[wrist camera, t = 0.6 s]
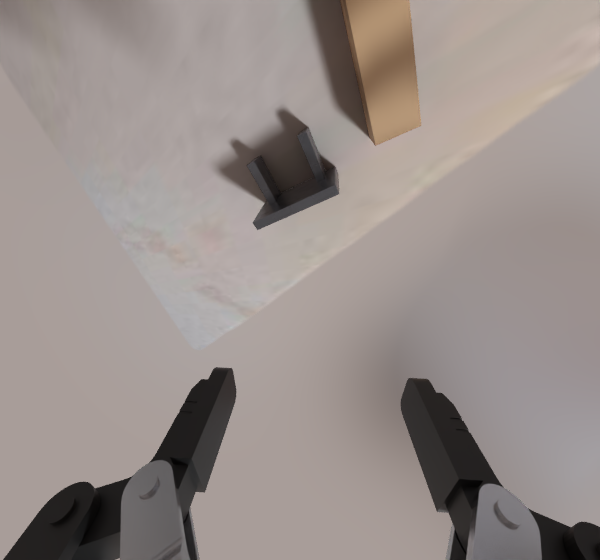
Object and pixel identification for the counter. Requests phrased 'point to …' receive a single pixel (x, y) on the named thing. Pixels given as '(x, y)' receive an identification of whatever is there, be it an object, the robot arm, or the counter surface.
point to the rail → (384, 65)
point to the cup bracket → (299, 195)
